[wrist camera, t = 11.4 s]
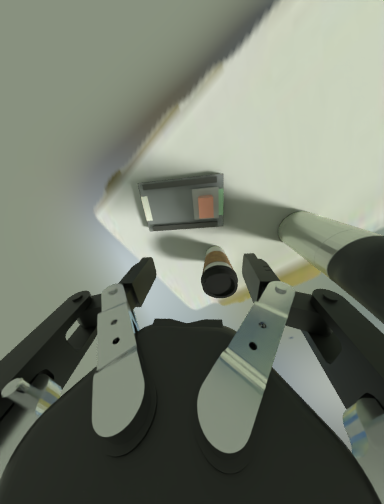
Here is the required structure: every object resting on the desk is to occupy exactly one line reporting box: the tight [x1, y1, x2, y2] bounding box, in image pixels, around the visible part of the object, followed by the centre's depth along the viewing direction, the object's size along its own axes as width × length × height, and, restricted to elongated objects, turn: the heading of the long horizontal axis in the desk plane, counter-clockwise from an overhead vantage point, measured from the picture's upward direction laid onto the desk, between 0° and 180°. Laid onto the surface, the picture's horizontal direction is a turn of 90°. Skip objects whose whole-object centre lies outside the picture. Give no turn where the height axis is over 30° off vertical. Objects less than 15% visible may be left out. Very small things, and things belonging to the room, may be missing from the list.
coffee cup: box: [201, 246, 238, 298], centre depth 36 cm, size 8×8×15 cm
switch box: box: [138, 174, 223, 231], centre depth 35 cm, size 20×12×4 cm, turn 96°
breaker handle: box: [192, 187, 219, 220], centre depth 30 cm, size 6×7×6 cm
